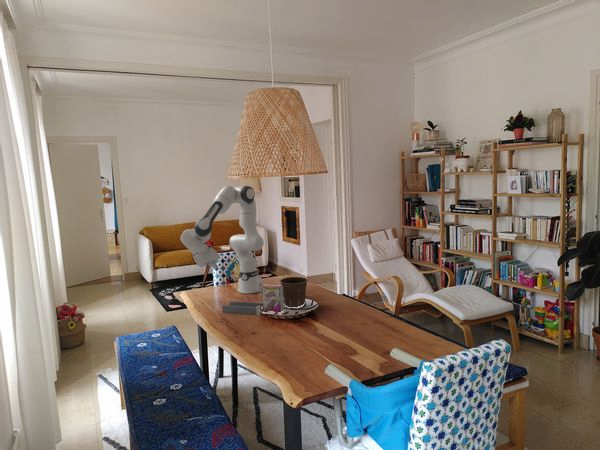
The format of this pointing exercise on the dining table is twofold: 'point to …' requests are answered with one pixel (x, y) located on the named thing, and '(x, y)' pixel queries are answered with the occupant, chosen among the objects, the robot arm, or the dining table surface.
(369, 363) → the dining table surface
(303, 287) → the plant pot
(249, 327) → the dining table surface
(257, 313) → the chute
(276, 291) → the candy bar box
